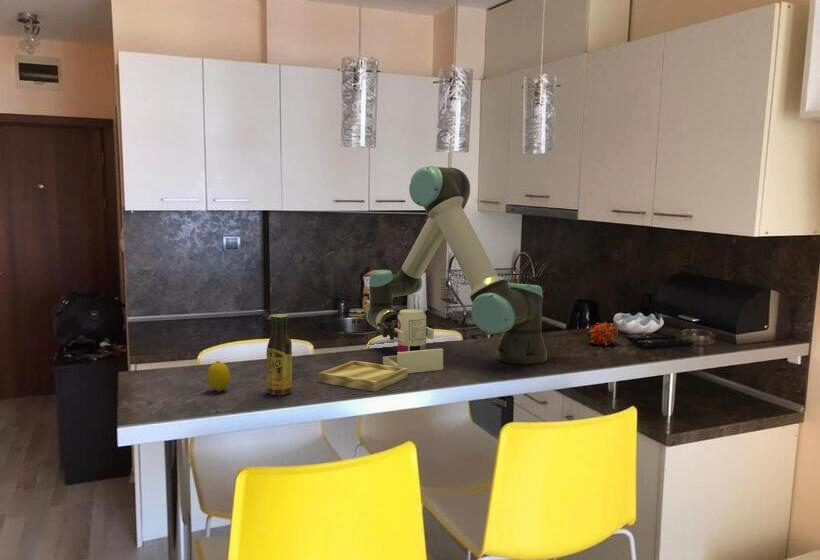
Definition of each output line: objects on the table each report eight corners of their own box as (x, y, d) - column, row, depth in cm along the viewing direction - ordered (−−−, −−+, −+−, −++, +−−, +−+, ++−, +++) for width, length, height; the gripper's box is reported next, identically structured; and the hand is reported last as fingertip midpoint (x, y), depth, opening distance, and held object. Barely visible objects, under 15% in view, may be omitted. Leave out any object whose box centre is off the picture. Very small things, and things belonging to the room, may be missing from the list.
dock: (424, 359, 201) (424, 339, 201) (442, 369, 189) (443, 349, 188) (382, 363, 197) (382, 343, 196) (398, 374, 184) (398, 353, 183)
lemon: (210, 389, 170) (209, 358, 169) (232, 388, 170) (231, 358, 169) (205, 395, 165) (204, 363, 164) (228, 394, 165) (227, 363, 164)
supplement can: (395, 364, 190) (394, 312, 188) (402, 357, 198) (401, 308, 196) (422, 365, 188) (422, 313, 186) (428, 359, 196) (428, 308, 194)
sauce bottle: (261, 394, 166) (259, 315, 163) (279, 388, 171) (277, 312, 168) (280, 398, 162) (278, 318, 160) (298, 392, 167) (296, 314, 165)
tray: (407, 377, 181) (407, 368, 181) (374, 391, 167) (374, 382, 167) (353, 368, 190) (353, 360, 190) (318, 382, 176) (318, 372, 176)
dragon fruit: (620, 348, 223) (589, 356, 219) (607, 330, 228) (577, 337, 225) (628, 331, 217) (596, 339, 213) (614, 313, 222) (583, 320, 219)
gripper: (422, 331, 213) (451, 345, 191) (359, 337, 205) (383, 352, 184) (422, 308, 212) (451, 319, 191) (358, 313, 204) (382, 325, 183)
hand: (418, 335), depth 187 cm, fingers closed on supplement can, 8 cm apart
